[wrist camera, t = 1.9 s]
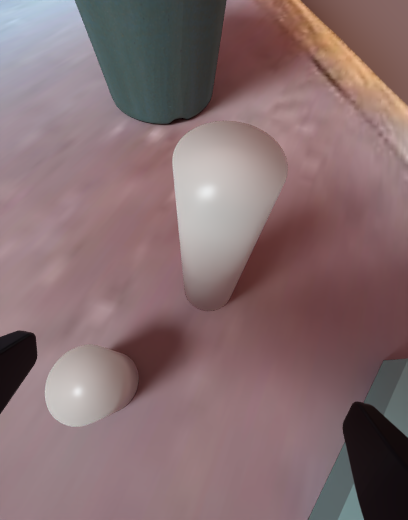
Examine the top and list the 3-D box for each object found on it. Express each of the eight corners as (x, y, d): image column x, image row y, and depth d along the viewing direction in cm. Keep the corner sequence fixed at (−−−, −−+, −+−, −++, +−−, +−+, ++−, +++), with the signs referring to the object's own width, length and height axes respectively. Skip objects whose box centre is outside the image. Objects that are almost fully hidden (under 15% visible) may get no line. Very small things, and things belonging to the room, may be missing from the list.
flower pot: (71, 75, 32) (-30, -175, 18) (184, 39, 37) (178, -188, 22) (132, 161, 27) (61, -95, 12) (256, 107, 31) (312, -131, 17)
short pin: (108, 427, 18) (79, 446, 13) (69, 386, 18) (29, 389, 14) (150, 376, 19) (136, 377, 14) (111, 340, 20) (87, 329, 15)
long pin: (212, 321, 21) (243, 231, 8) (174, 290, 22) (147, 165, 9) (241, 284, 22) (308, 157, 9) (204, 256, 23) (219, 106, 10)
